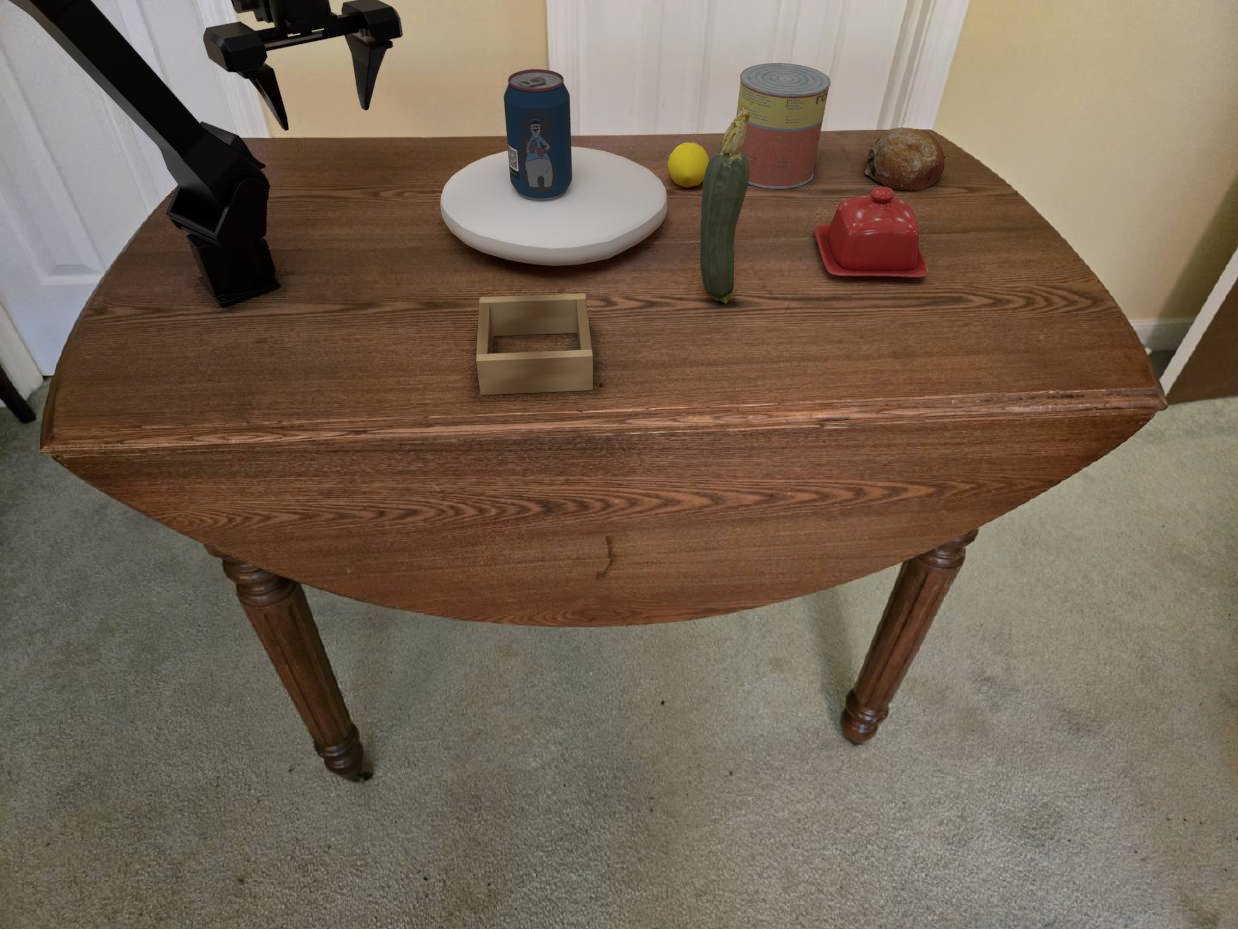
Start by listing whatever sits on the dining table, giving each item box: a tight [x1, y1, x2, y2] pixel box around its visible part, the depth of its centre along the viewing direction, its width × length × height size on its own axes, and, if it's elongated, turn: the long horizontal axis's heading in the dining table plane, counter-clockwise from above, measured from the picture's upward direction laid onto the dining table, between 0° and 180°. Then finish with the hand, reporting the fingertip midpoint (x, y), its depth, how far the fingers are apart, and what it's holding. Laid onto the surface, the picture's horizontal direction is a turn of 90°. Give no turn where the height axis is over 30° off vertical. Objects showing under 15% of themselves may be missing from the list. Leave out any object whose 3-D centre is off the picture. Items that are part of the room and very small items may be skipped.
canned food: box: [736, 62, 832, 190], centre depth 107 cm, size 11×11×12 cm
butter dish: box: [813, 186, 929, 278], centre depth 91 cm, size 12×12×8 cm
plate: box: [439, 146, 668, 267], centre depth 97 cm, size 28×6×27 cm
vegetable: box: [699, 107, 751, 304], centre depth 81 cm, size 4×4×20 cm
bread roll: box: [864, 126, 946, 192], centre depth 109 cm, size 10×10×8 cm
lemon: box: [667, 141, 710, 189], centre depth 106 cm, size 7×5×5 cm
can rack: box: [475, 292, 594, 396], centre depth 78 cm, size 10×10×4 cm
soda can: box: [503, 68, 572, 201], centre depth 88 cm, size 7×7×12 cm
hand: (326, 118), depth 88 cm, fingers open, 9 cm apart
